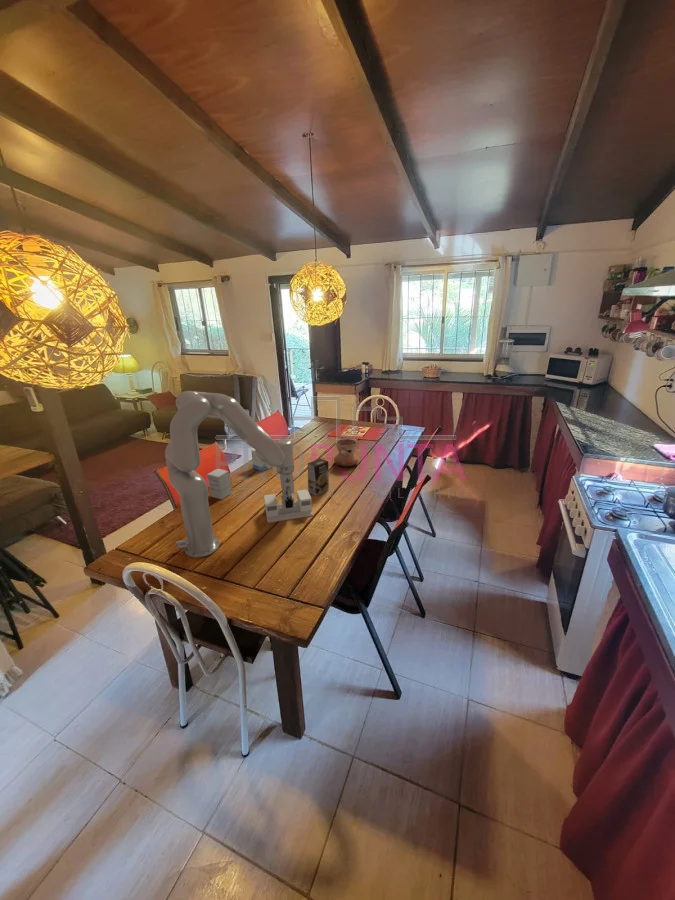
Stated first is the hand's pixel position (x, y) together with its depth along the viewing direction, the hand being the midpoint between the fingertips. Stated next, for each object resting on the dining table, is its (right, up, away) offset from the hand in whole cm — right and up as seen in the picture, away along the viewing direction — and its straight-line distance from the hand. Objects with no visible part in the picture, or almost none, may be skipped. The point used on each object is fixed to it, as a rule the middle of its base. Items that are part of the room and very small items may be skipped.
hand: (287, 502), depth 156 cm
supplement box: (-36, +1, +18) cm, 40 cm away
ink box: (-22, +13, +49) cm, 55 cm away
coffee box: (+13, +2, +21) cm, 25 cm away
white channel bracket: (0, -5, +2) cm, 5 cm away
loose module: (0, -4, +1) cm, 4 cm away
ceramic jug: (+28, +15, +53) cm, 62 cm away
